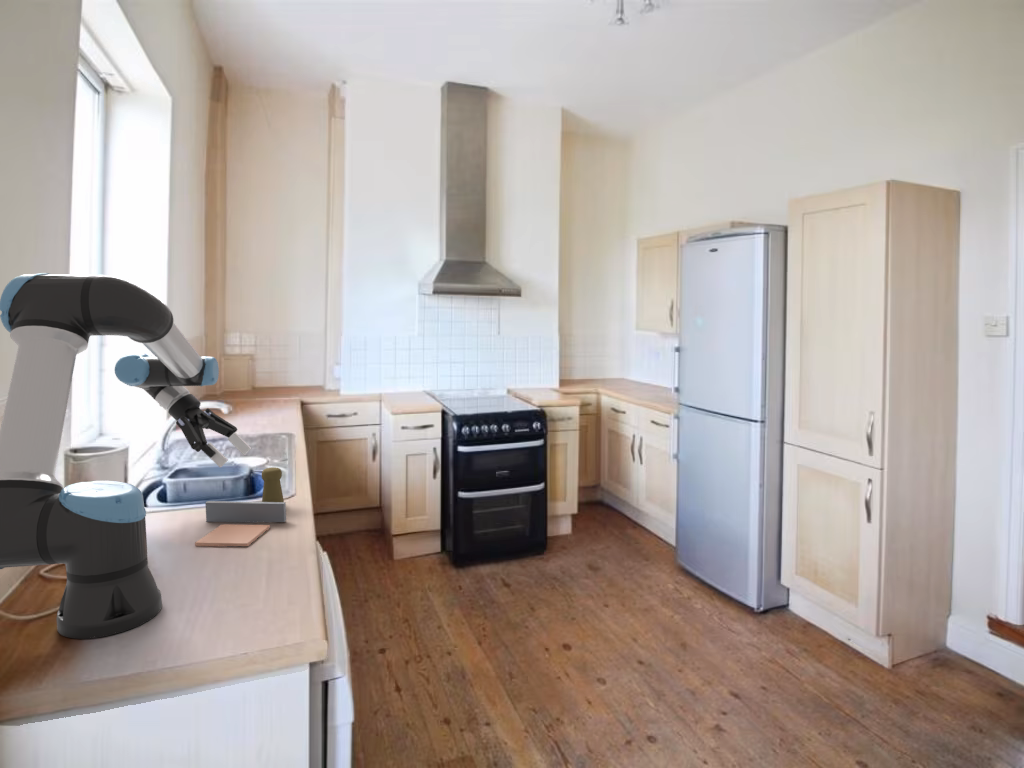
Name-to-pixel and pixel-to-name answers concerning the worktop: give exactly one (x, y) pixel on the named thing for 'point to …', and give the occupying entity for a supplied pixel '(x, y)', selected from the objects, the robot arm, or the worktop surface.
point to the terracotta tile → (232, 535)
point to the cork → (272, 485)
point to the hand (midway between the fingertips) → (236, 457)
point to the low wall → (245, 511)
